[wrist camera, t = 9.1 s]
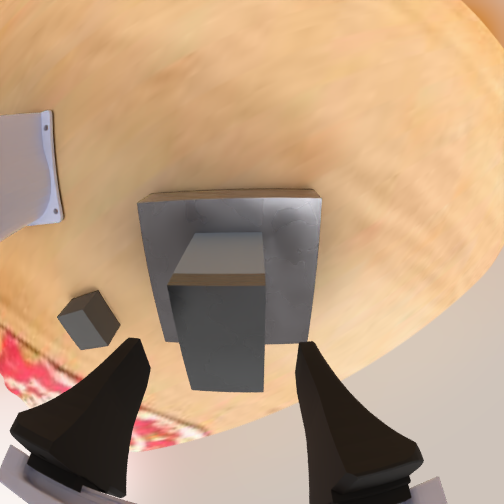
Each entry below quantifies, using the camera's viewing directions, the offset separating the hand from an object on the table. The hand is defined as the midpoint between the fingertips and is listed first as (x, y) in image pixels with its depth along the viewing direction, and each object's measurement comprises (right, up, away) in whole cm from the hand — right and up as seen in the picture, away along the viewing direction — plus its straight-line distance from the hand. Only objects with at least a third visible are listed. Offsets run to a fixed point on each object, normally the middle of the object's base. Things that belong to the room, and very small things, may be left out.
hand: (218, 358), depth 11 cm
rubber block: (-13, -1, +11) cm, 17 cm away
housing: (0, +3, +6) cm, 7 cm away
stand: (0, +4, +8) cm, 9 cm away
